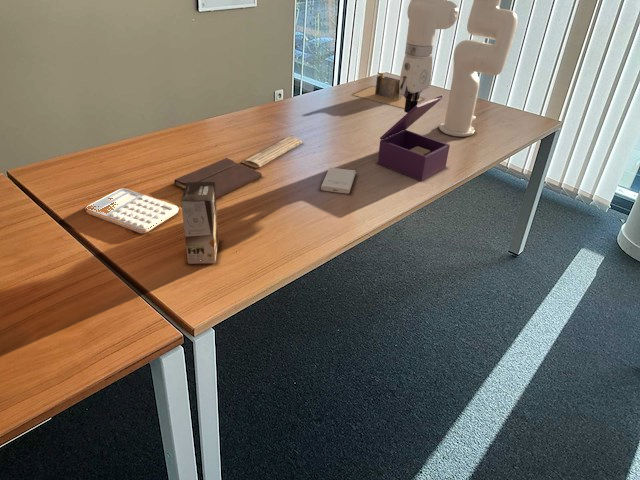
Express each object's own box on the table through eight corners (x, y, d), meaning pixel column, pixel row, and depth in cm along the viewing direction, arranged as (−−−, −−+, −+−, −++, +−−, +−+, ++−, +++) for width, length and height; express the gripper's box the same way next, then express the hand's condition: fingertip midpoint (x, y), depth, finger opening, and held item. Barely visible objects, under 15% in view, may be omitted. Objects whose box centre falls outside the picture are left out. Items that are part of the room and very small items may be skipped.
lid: (443, 97, 158) (441, 95, 158) (417, 107, 149) (416, 105, 149) (406, 129, 171) (404, 127, 172) (381, 140, 163) (379, 137, 163)
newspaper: (259, 169, 160) (259, 163, 159) (241, 163, 163) (240, 157, 162) (302, 144, 177) (302, 139, 176) (285, 139, 180) (285, 134, 179)
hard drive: (355, 175, 160) (349, 194, 149) (328, 172, 161) (320, 190, 151) (355, 170, 159) (349, 189, 148) (329, 167, 160) (321, 185, 150)
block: (415, 160, 169) (417, 145, 166) (428, 165, 166) (430, 150, 163) (406, 165, 165) (408, 150, 163) (419, 170, 163) (421, 155, 160)
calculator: (143, 235, 127) (142, 228, 126) (84, 213, 135) (82, 206, 134) (180, 211, 137) (180, 205, 136) (123, 192, 145) (122, 186, 144)
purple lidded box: (445, 167, 167) (449, 144, 163) (421, 181, 158) (425, 157, 154) (402, 151, 176) (405, 129, 172) (377, 163, 167) (380, 140, 163)
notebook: (261, 178, 155) (261, 171, 154) (211, 202, 142) (210, 195, 141) (225, 163, 163) (225, 157, 162) (174, 184, 149) (173, 178, 148)
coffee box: (216, 263, 119) (211, 201, 110) (187, 264, 118) (180, 201, 109) (219, 241, 126) (215, 181, 118) (192, 241, 126) (185, 181, 117)
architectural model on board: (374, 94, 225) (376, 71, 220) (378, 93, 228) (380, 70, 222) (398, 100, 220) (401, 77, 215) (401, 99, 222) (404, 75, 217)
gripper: (414, 56, 143) (405, 121, 153) (444, 48, 153) (434, 110, 163) (392, 51, 147) (385, 114, 157) (422, 43, 157) (413, 104, 167)
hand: (410, 112), depth 160 cm, fingers closed
